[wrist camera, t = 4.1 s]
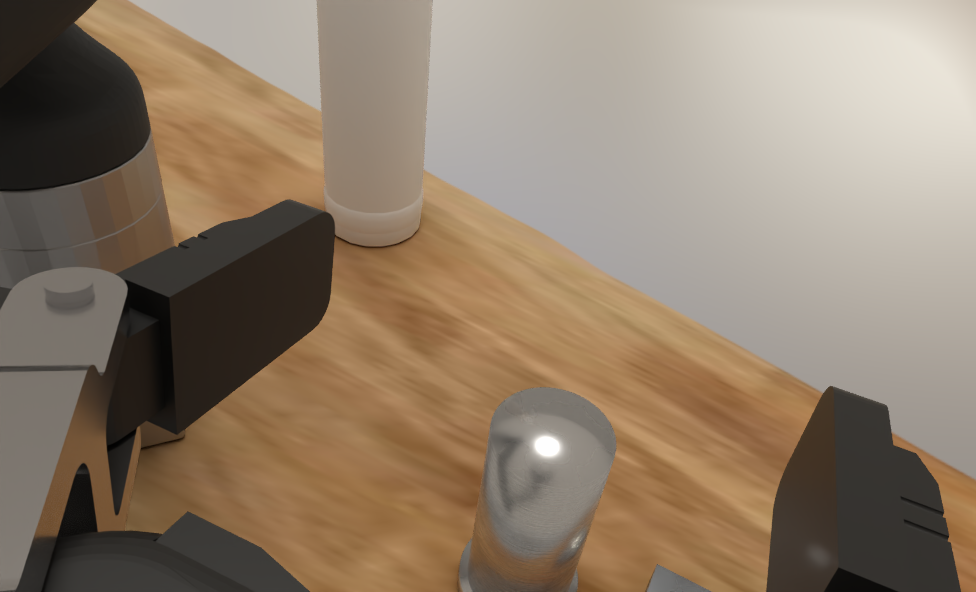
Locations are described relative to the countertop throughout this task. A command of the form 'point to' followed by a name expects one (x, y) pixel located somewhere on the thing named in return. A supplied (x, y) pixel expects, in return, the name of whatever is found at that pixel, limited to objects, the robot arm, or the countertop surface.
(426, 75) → the bottle
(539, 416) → the flanged metal cylinder
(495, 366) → the countertop surface
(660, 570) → the base plate
